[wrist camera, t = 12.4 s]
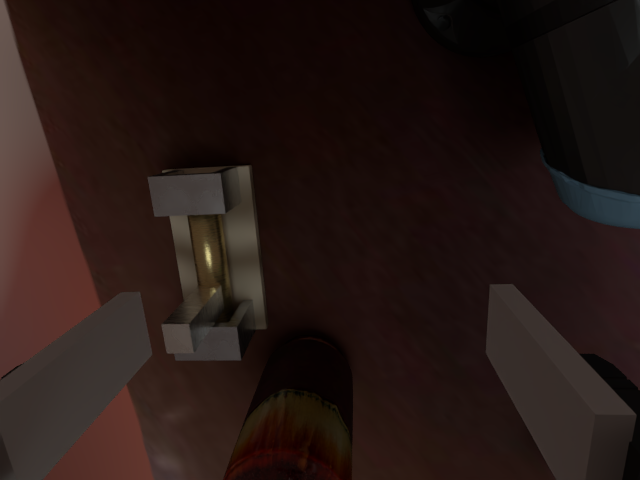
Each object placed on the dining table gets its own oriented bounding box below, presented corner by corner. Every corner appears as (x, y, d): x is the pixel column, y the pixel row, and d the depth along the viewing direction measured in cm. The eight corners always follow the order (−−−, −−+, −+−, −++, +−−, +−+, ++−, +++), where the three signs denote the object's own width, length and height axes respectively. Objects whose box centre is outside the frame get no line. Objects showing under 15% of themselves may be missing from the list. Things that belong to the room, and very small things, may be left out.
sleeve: (173, 170, 45) (147, 177, 40) (237, 166, 45) (220, 173, 39) (178, 205, 46) (154, 216, 41) (241, 202, 46) (225, 213, 40)
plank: (166, 169, 47) (162, 170, 45) (251, 164, 46) (248, 166, 44) (192, 325, 52) (188, 329, 51) (268, 324, 51) (266, 329, 50)
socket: (194, 300, 50) (169, 327, 43) (252, 299, 49) (236, 327, 43) (198, 329, 51) (175, 360, 44) (256, 329, 50) (241, 360, 44)
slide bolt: (189, 175, 45) (131, 194, 33) (220, 173, 45) (172, 192, 33) (211, 320, 50) (167, 381, 38) (239, 320, 50) (203, 381, 38)
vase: (320, 312, 50) (284, 502, 25) (370, 377, 52) (382, 613, 27) (251, 353, 53) (157, 564, 28) (301, 414, 55) (254, 661, 30)
